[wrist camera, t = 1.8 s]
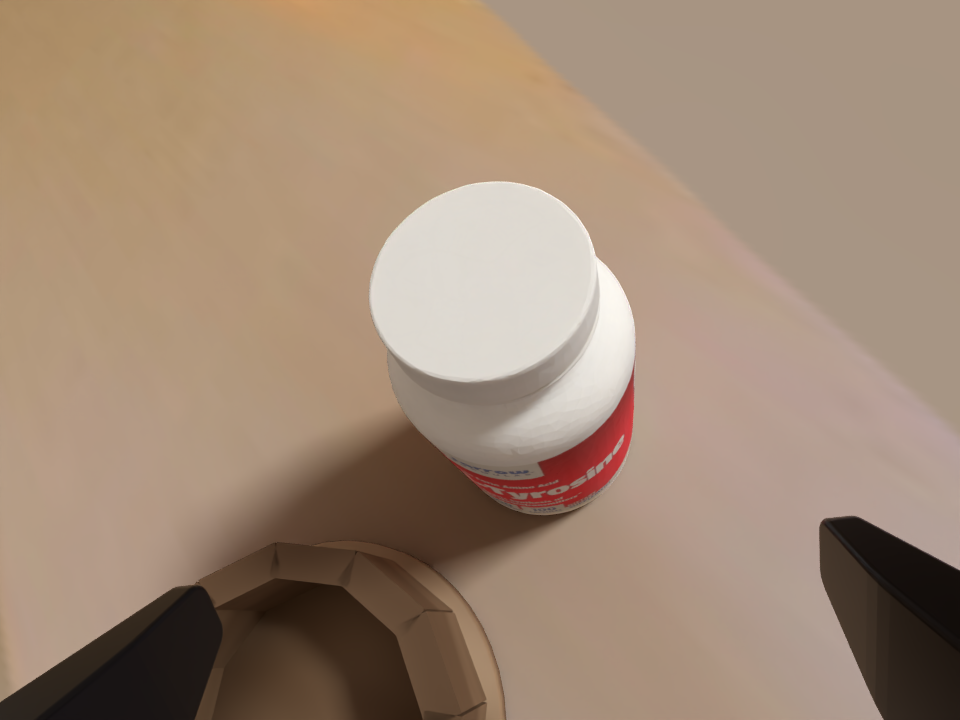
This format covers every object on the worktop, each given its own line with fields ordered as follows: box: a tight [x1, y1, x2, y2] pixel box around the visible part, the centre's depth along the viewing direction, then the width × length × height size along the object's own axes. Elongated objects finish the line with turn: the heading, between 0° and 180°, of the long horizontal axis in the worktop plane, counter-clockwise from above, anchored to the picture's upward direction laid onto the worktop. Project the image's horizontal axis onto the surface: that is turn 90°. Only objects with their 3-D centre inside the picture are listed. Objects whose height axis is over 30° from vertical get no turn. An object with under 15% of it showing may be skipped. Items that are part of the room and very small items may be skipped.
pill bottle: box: [369, 182, 636, 515], centre depth 17 cm, size 6×6×11 cm
